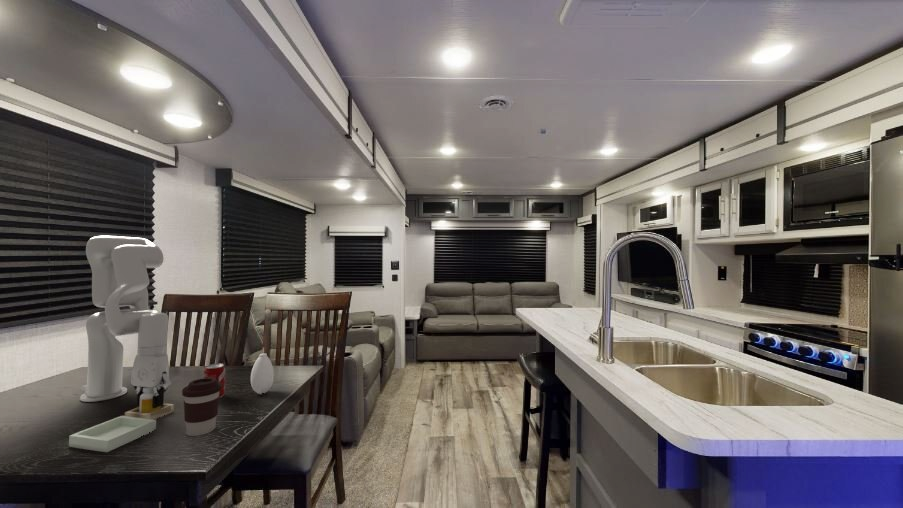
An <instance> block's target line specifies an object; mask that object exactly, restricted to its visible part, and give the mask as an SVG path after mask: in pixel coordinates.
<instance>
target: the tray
mask: <svg viewBox="0 0 903 508" xmlns="http://www.w3.org/2000/svg"><path fill="white" fill-rule="evenodd" d="M154 430H155V431H156V430H157V419H155V420H152V419H144V418H136V417H128V416H125V415H120V416H117V417H114V418H113V419H109V420H107V421H104V422H102V423H99V424H96V425H94V426H91V427H89V428H86V429H83V430H81V431H77V432H75V433H73V434H71V435H69V436H68V438H69V439H68V447H69V448H75V449H80V450H81V449H83V450H89V451H95V452H103V453H109V452H112V451H114V450H115V449H118V448H119V447H121V446H124V445H126V444H128V443H131V442H133V441H135V440H136V439H139V438H141V436H142V437H143V435H144V436H146V435H148V434H150V433H153V432H155V431H154ZM152 431H153V432H152ZM149 432H150V433H149Z"/></svg>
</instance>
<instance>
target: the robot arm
mask: <svg viewBox="0 0 903 508" xmlns="http://www.w3.org/2000/svg"><path fill="white" fill-rule="evenodd" d="M85 245H86V247H85V254H86V258H87V261H88V264H89V265H90V268H91V269H90V270H91V274H92V275H91V298H92V299H91V300H92V304H93V305H94V306H96V307H97V308H104V311H99V312H98V311H97V312H95V313H93V314H91V315H90V316H89V317H88V318H86V321H85V329H86V335H87V340H88V341H87V344H88V345H87V346H88V348H87V349H88V351H87V374H86V375H87V376H86V384H85V385H82V386H81V390H84V391H85V392H84V393H83V394H81V395H80V397H79V400H80V401H81V402H84V403H86V402H88V403H91V402H92V403H93V402H102V401H107V400H112V399H116V398H118V397H121V396H124V395H125V394H126V393H127V392H128V388H127V387H125V386H123V369H124V368H123V367H124V345H123V343H122V342H121V341H120V340H119V339H118V338H116V337H117V336H129V335H136V334H137V354H136V355H135V357H134V360H133V365H132V368H131V369H132V370H131V380H130V383H131V385H132V386H133V388H134V390H135V394H136V407H139V404H140V395H141V394H143V393H144V392H143V387H147V388H153V390H154V394H155V396H153V403H152V408H157V407H159V406H162V405H163V403H164V400H165V398H164V397H165V395H164V394H165V393H166V392H167V391H168V389H169V388H170V387H171V386H172V385H173V384H172V382H171V380H170V362H169V356H168V336H169V335H168V334H169V316H168V314H167V313H165V312H161V311H160V310H156V309H150V310H149V291H148V288H147V287H148V286H149V285H150V277H149V274H148V270H147V269H148V268H149V269H156V268H159V267H161V266H162V265H163V263H164V258H165V257H164V253H163V250H162V249H161V248H160V246H158V245H157V244H155V243H154V242H152V241H151V240H149V239H147V238H144V237H143V238H142V237H133V236H132V237H131V236H117V235H97V236H93V237H90V238H89V240H88V241H87V243H86V244H85ZM121 307H129V309H120V308H121ZM158 387H159V389H158Z"/></svg>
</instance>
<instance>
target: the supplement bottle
mask: <svg viewBox="0 0 903 508" xmlns="http://www.w3.org/2000/svg"><path fill="white" fill-rule="evenodd" d="M159 389H160V387H158V390H159ZM143 392H144V393H143V394H141V395H140V404H139V406H138V407H139V412H140V413H150V412H153V411H155V410H158V409H160V406H159V407H157V408H152V403H153V396H155V394H154V390H153V388H147V387H143Z"/></svg>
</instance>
